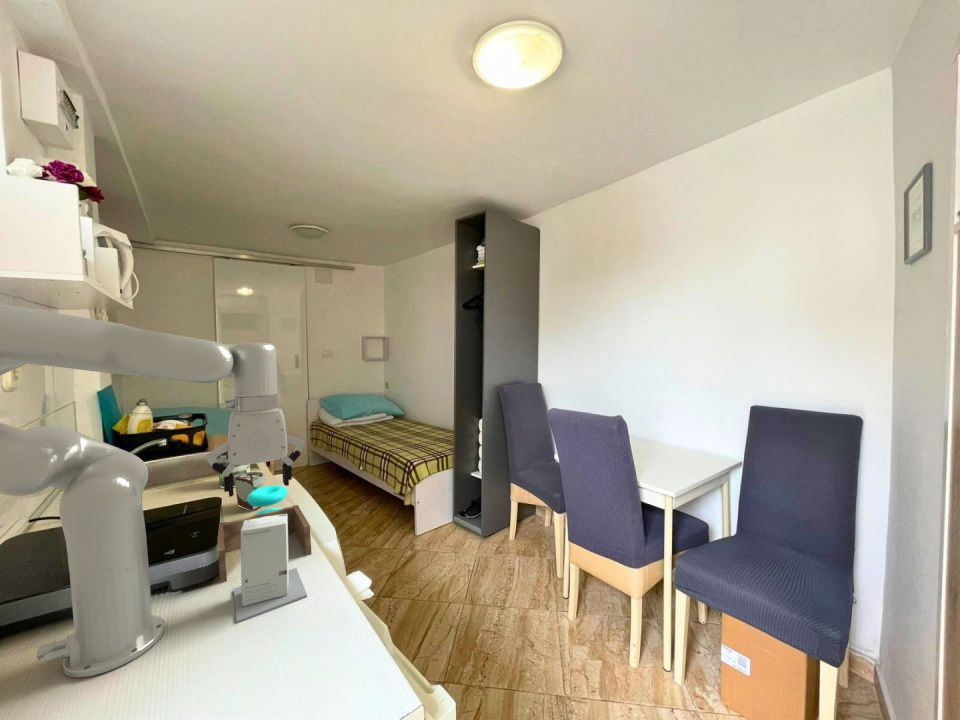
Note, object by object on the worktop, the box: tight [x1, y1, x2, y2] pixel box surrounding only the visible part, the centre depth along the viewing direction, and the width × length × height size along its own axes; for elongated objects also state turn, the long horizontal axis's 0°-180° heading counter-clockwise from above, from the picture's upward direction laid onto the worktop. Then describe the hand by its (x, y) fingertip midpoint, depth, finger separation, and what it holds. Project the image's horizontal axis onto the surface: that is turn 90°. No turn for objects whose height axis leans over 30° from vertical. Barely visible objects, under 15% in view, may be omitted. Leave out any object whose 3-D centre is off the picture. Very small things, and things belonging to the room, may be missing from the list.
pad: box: [232, 567, 308, 624], centre depth 79 cm, size 12×12×1 cm
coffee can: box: [217, 451, 251, 488], centre depth 147 cm, size 10×10×14 cm
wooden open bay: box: [217, 504, 312, 584], centre depth 95 cm, size 18×16×7 cm
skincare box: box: [240, 514, 290, 606], centre depth 79 cm, size 8×6×15 cm
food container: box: [234, 471, 267, 512], centre depth 125 cm, size 12×6×10 cm, turn 58°
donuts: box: [247, 484, 288, 516], centre depth 111 cm, size 10×10×10 cm
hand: (259, 489), depth 78 cm, fingers open, 9 cm apart
